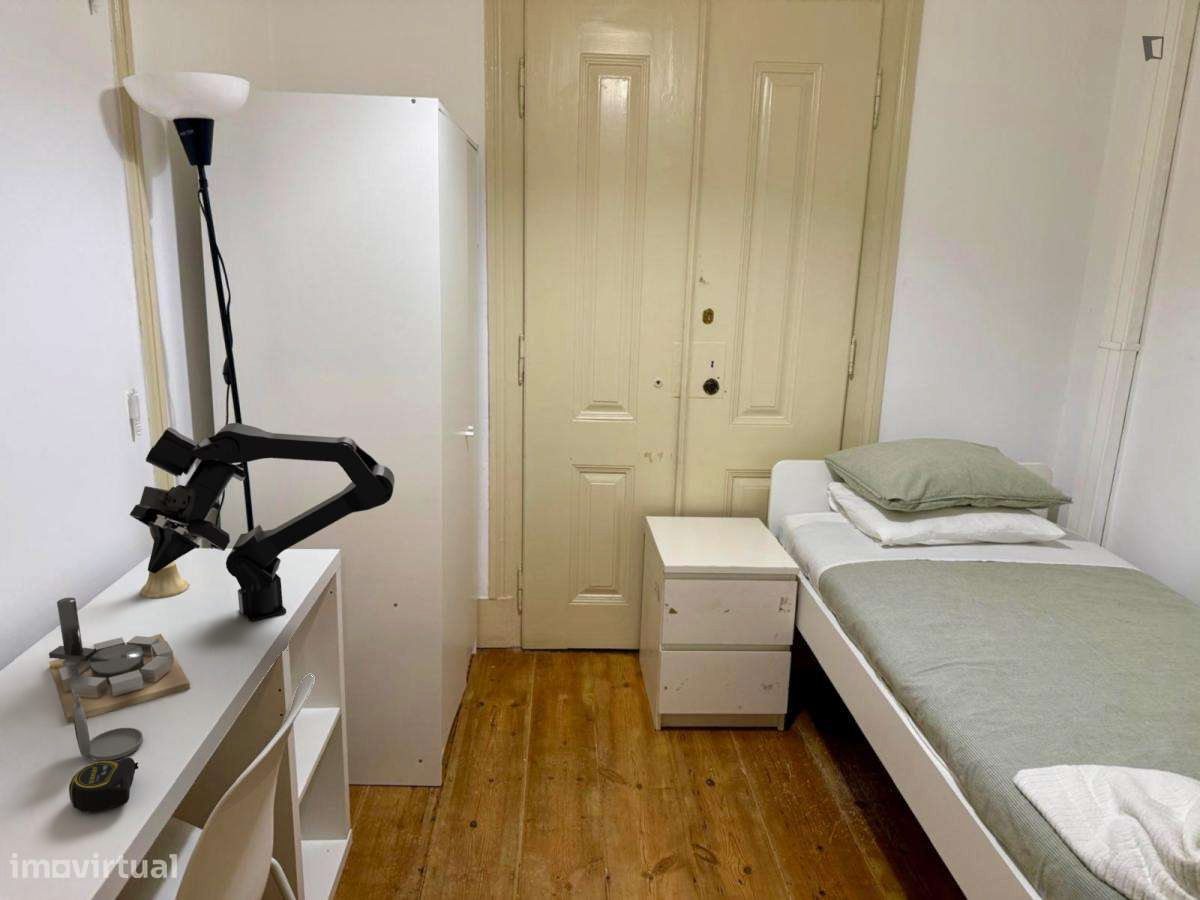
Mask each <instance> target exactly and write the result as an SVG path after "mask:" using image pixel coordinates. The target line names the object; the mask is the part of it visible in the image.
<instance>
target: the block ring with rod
mask: <svg viewBox="0 0 1200 900" xmlns="http://www.w3.org/2000/svg"><path fill="white" fill-rule="evenodd" d="M56 605H57V612H58V619H59V625H60V631H61V632H60V633H61V638H62V639H61V640H62V645H59V646H58V647H56V648H54V649H52V651H50V652H49V653H48V656H49V659H55V660H57V659H66V660H65V661H64V662H63V668H59V674H60V681H61V683H62V686H63V689H64V692H67V691H70V690H72V689H74V691H75V693H76V695H79V697H89V698H99V697H100V696H102V695H103V694H104V693H105V692H107V691H108V686H107V679H106V678H99V677H88V676H80V673H82V672H83V671H84V670H86V669H87V668H88V667H90V666H91V665H90V658H91V657H92V656H93V655H94V654H95V653H97V652H98V651H100V650H103V649H105V648H108V647H112V646H116V645H124V644H125V643H126V642H125V640H124V638H123V637H116V638H113V639H109V640H104V641H101V642H97V643H93V648H90V647H83V642H82V633H81V628H80V621H79V613H78V608H77V601H76V598H75V597H65V598H60V599H59V600H58V601H56ZM127 644H131V645H137V646H139V647H141V649H142V652H143V655H149V656H152V655H153V657H154V659H152V660H151V661H150V662H149V663H147V664H146V665H145V666H144V667H142V668H141V673H140V671H139V670H136V671H133V672H129V673H125V674H121V675H118V676H114V677H110V678H109V685H110V691H111V693H112V695H113V696H117V695H121V694H124V693H128V692H131V691H135V690H138V689H142V688H143V681H149V682H157V681H158V680H159V679H160V678H161V677H162V676H164V675H165V674H166V673H167V672H168V671H170V670H171V669H172V667H171V663H174V658H173V655H174V652H173V651H174V650H172V647H171V646H170V645H169V643H168V641H167V640H165V642H161V643H159V638H154V637H150V636H143V635H142V636H139V635H135V636H134V637H132V638H130V640H128V641H127ZM72 696H73V693H72Z"/></svg>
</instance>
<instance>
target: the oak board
mask: <svg viewBox="0 0 1200 900" xmlns="http://www.w3.org/2000/svg"><path fill="white" fill-rule="evenodd" d="M149 637H154V638H159V643H161V642H165V641H166V639H165V638H164V636H163V635H162V633H159V634H156V635H155V634H154V635H151V636H149ZM127 642H128V641H127ZM127 642H125V644H127ZM173 658H174V663H171V667H172V669H171V670H170V671H168V672H167V673H166V674H165V675H164V676H162V677H161V678H160V679H159V680H158V681H157V682H149V681H143V688H142V689H138V690H135V691H131V692H128V693H124V694H121V695H117V696H113V695H112V693H111V691H110V685H107V686H108V691H107V692H105V693H104V694H103V695H102V696H100V697H99V698H89V697H80V698H81V702H80V704H81V705H82V706H83V709H84V712H85V716H86V719H87V718H91V717H95V716H97V715H98V716H99V715H102V714H105V713H109V712H111V711H112V712H113V711H115V710H118V709H119V710H120V709H123V708H126V707H129V706H134V705H136V704H140V703H144V702H147V701H150V700H153V699H158V698H162V697H164V696H168V695H171V694H175V693H178V692H179V693H180V692H183V691H185V690H186V691H187V690H189V689H191V684H190V683H191V682H190V680H189V678H188V677H187V675H186V674H185V672H184V671H183V668H182V667H181V665H180V664H179V662H178V660H177V659H176V657H175V655H174V654H173ZM152 659H154V657H153V655H152V656H149V655H143V660H144V666H145V665H146V664H147V663H149V662H150V661H151V660H152ZM65 660H66V659H54V660H49V669H50V671H51V674H52V675H51V676H52V678H53V681H54V684H55V686H56V690H57V693H58V696H59V700H60V702H61V706H62V710H63V712H64V716H65V719H66V722H67V724H70V723H71V724H72V723H74V721H73V714H72V706H73V705H75V704H76V703H75V702H74V700H75V698H74V696H72V690H70V691H67V692H64V689H63V686H62V683H61V681H60V674H59V668H63V662H64V661H65ZM80 676H88V677H92V672H91V666H90V667H88V668H87V669H86V670H84V671H83V672H82V673H80Z"/></svg>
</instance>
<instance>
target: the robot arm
mask: <svg viewBox="0 0 1200 900" xmlns="http://www.w3.org/2000/svg"><path fill="white" fill-rule="evenodd" d="M263 459H265V460H266V459H279V460H281V459H283V460H296V461H309V462H311V461H312V462H327V463H328V462H329V463H337V465H339V466H340V467H341V469H343V471H344V472H345V474H346V475H347V477H348V478H349V479H350V481H351V482H349V484H348V485H347V486H346V487H345V488H344V489H342V490H341V491H340V492H338V493H335V495H332V496H331V497H330V498H328V499H325V500H324V501H322V502H320V503H318V504H317V505H314V506H313V507H311V508H310V509H307V510H305V511H304V512H302V513H300V514H298V515H297V516H295V517H292V518H291V519H289V520H288V521H286V522H284V523H282V524H280V525H278V526H276V527H275V528H272V529H268V530H267V529H266V530H263V527H262V526H261V524H258V525H257V526H255V527H254V528H253V529H251V530H250V531H248V532H246V533H240V535H239V536H238V538H237V539H236V541H235V543H234V545H233V547H232V549H231V550H230V552H229V554H228V555H227V557H226V561H225V567H226V570H227V571H228V573H229V574H230V575H231V577H234V578H235V579H236V580H237V583H238V585H239V587H240V588H239V589H237V597H238V598H237V599H238V608H239V612H240V613H241V614H242V615H243V616H245V618H246V619H247V620H248V621H249V622H255V621H258V620H261V619H262V620H263V619H266V618H270V617H274V616H279V615H282V614H285V613H287V609H286V608H285V606H284V605H283V603H284V602H283V592H282V578H281V577H280V576H279V575H278V574H277V571H278V570H279V568H280V564H281V562H282V559H281V558H279V556H280V555H281V553H283V552H284V551H285V550H287V549H289V548H291V547H293V546H295V545H297V544H298V543H300V542H302V541H304V540H306V539H307V538H309V537H311V536H313V535H314V534H317V533H319V532H320V531H322V530H323V529H325V528H327V527H329V526H331V525H333V524H335V523H336V522H338V521H340V520H341V519H344V518H345V517H347V516H349V515H350V514H353V513H361V512H364V511H365V512H366V511H369V510H372V509H375V508H377V507H380V506H383V505H385V504H386V503H388V502H389V501H390V500H391V498H392V497H393V493H394V488H395V487H394V486H395V481H396V480H395V475H394V472H393V471H392V470H391V468H389V467H387V466H385V465H382V464H379V463H378V462H377V461H376V460H375V458H374V457H373V456H372V455H370V454H369V453H368V452H367V451H365V450H364V449H362V448H361V447H360V446H359V445H358V444H357V442H355V440H354V439H352V438H351V437H348V436H341V437H332V436H321V435H319V436H317V435H305V434H303V435H302V434H292V433H291V434H290V433H276V432H275V433H273V432H270V431H265V430H263V429H261V428H259V427H256V426H253V425H252V426H251V425H247V424H243V423H240V422H231V423H227V424H225V425H224V426H223V427H222V428H220V429H219V431H218V432H216V433H215V434H214V435H211V436H209V437H205V438H203V439H202V440H200V442H197V441H195V440H193V439H191V438H190V437H188V436H185V435H183V434H182V433H180V432H179V431H178V430H176V429H174V428H173V427H171V426H169V427H167V428H166V429H165V430H164V432H163V433H162V435H161V436H160V437H159V439H158V440H157V441H156V443H155V444H154V445H153V446H152V447H151V448H150V450H149V451H148V454H147V455H146V458H145V462H146V463H148V464H150V465H152V466H154V467H157V468H158V469H161V470H162V471H164V472H167V473H168V474H170V475H173V476H175V477H176V478H179V477H182V476H183V475H187V476H188V474H190V473H191V470H192V469H193V468H194V466H195V465H196V463H197V461H199V463H198V464H197V466H196V468H195V469H194V471H193V473H192V474H191V476H190V477H189V478H188V480H187V482H186V483H185V485H183V484H178V485H176V486H172V487H170V489H169V490H168V489H164V488H157V487H153V486H148V485H147V486H146V485H144V488H143V492H142V493H141V494H142V495H141V498H140V501H139V504H135V505H134V507H133V509H132V510H131V512H129V516H130V517H132V518H133V519H136V520H137V521H138V522H140V523H141V524H143V525H145V526H146V527H148V528H149V527H150V528H152V531H153V534H154V540H153V545H152V550H151V552H150V553H151V554H150V557H149V562H148V566H147V571H148V573H149V572H151V573H154V574H155V573H157V572H158V571H160V570H161V569H163V568H164V567H166V566H167V565H169V564H170V563H172V562H173V561H175V562H176V561H177V560H178V559H180V558H181V557H184V555H186V554H188V553H190V552H191V551H193V550H195V549H200V548H201V545H199V541H200V540H201V539H204V540H205V541H207V542H209V543H210V545H211V546H210V547H211V548H213V549H216V550H219V551H222V552H225V550H226V549H227V547H228V546H229V544H230V542H231V537H230V534H229V533H228V532H226V531H225V530H223V529H222V528H221V527H219V526H218V525H216V524H215V523H213V521H208V520H207V519H208V517H209V515H210V513H211V512H212V510H215V511H217V512H218V511H219V509H220V507H221V506H222V505H221V504H220V503H218V501H219V499H220V498H221V496H222V494H223V492H225V490H226V488H227V487H228V485H229V483H230V482H231V480H232V478H234V479H235V480H238V481H240V482H244V481H245V478H246V473H245V471H244V464H243V463H250V462H255V461H258V460H263ZM237 463H238V464H237Z"/></svg>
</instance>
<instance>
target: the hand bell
mask: <svg viewBox="0 0 1200 900" xmlns="http://www.w3.org/2000/svg"><path fill="white" fill-rule="evenodd" d="M148 528H149V532H150V536H151V538H152V540H153V541H154V534H153V531H152V528H150V527H148ZM189 587H190V583H189V582H188V581H187V579H185V578H183V577H182V576H181V574H180V572H179V570H178V567H177V563H176V560H175V561H173V562H172V563H170V564H169V565H167V566H166V567H164V568H163V569H161V570H160V571H158V572H157V573H155V574H154V573H151V572H149V571H148V577H147V581H146V582H145V584H144V585H143V586H142V588H141V589H140V595H141V596H143V597H145V598H148V599H165V598H171V597H175V596H177V595H180V594H182V593H184V592H186V591H187V590H188V589H189Z"/></svg>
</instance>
